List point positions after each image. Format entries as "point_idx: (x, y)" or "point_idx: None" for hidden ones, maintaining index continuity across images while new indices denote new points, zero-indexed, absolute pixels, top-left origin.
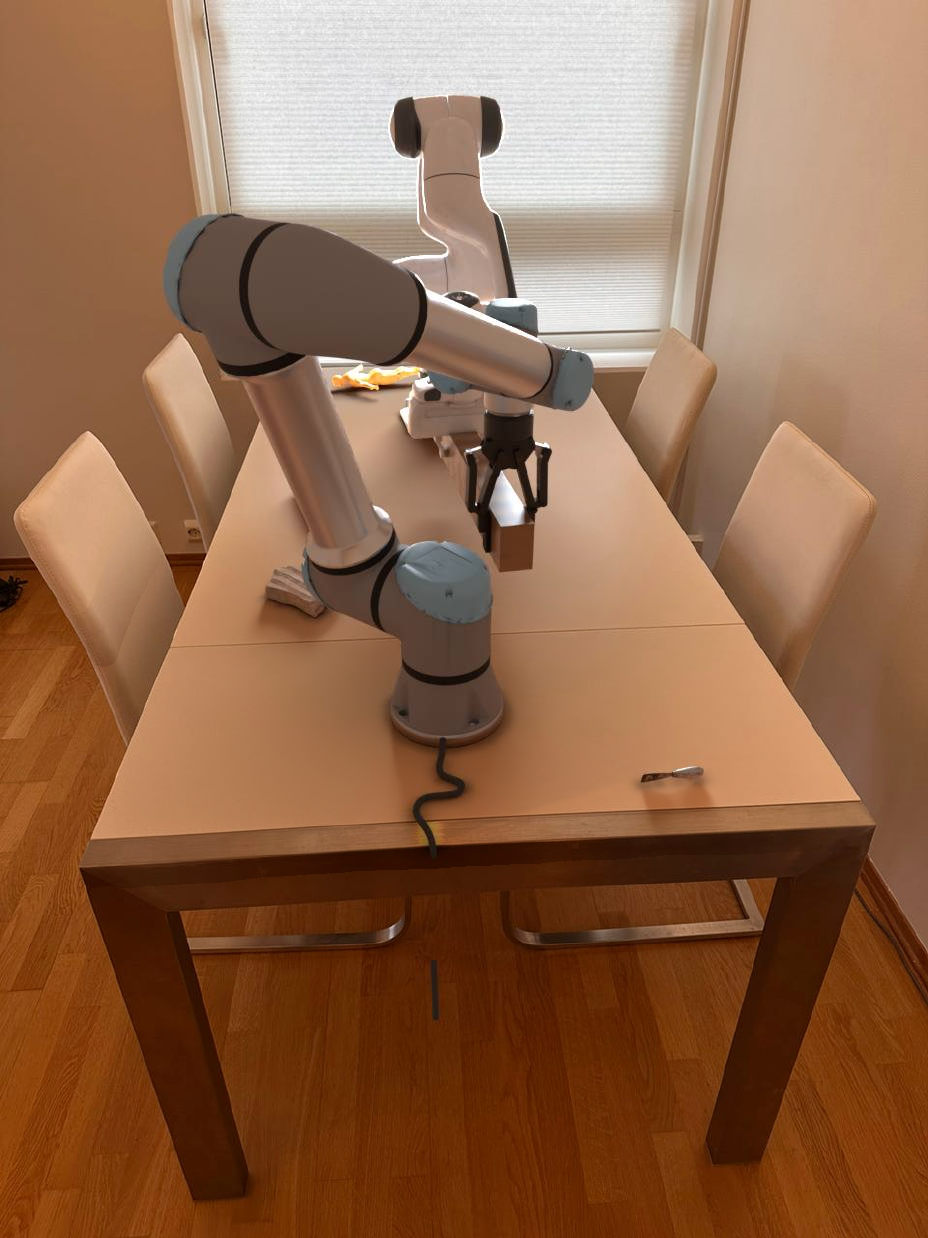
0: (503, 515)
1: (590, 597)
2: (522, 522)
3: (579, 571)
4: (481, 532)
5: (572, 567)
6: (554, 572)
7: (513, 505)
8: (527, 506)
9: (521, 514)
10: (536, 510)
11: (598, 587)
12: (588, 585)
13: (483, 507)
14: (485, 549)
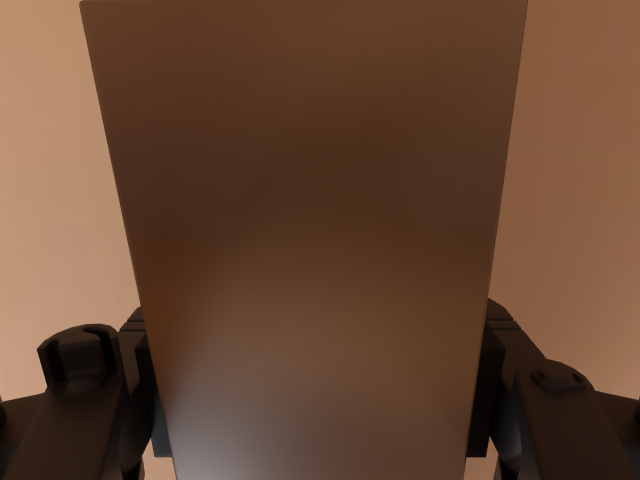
0: (399, 274)
1: (39, 99)
2: (228, 60)
3: (64, 267)
4: None
5: (84, 293)
6: None
7: (253, 444)
8: (133, 423)
9: (209, 265)
10: (56, 346)
11: (7, 160)
12: (40, 179)
13: (576, 416)
14: None
